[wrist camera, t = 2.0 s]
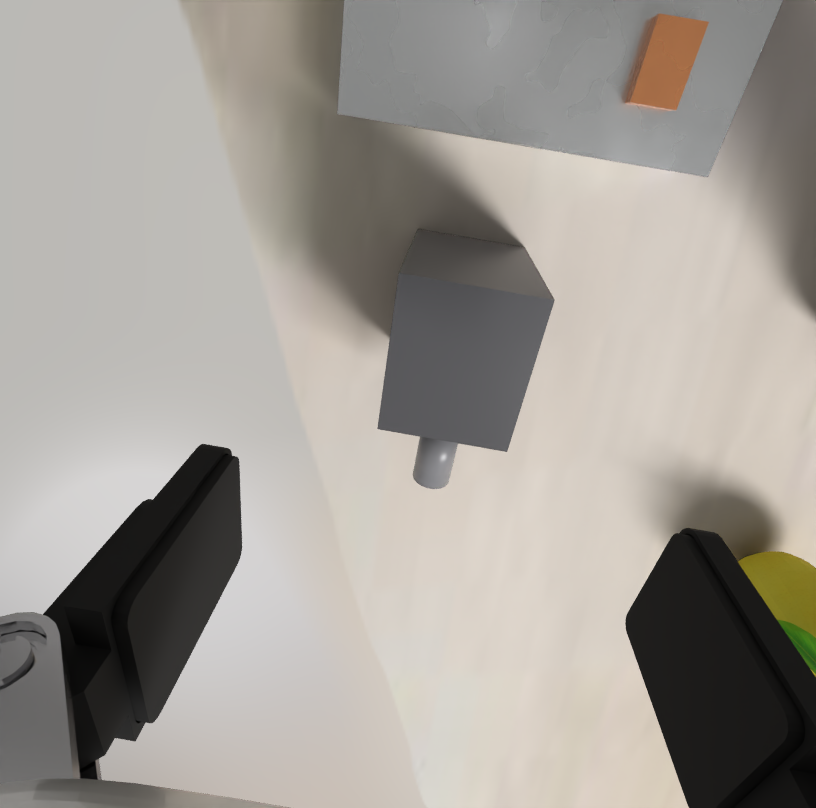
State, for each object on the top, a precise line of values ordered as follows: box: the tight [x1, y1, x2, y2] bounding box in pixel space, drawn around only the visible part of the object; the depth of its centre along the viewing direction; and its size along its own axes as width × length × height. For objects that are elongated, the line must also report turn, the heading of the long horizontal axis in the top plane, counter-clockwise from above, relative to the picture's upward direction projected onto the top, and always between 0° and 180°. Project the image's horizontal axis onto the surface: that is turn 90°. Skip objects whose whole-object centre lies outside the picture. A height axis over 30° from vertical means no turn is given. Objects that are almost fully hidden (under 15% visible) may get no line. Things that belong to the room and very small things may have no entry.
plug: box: [378, 229, 554, 489], centre depth 21 cm, size 9×5×8 cm, turn 172°
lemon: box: [738, 551, 816, 677], centre depth 25 cm, size 7×6×10 cm
